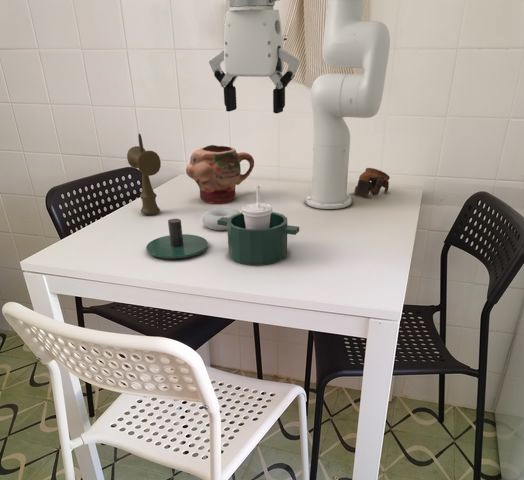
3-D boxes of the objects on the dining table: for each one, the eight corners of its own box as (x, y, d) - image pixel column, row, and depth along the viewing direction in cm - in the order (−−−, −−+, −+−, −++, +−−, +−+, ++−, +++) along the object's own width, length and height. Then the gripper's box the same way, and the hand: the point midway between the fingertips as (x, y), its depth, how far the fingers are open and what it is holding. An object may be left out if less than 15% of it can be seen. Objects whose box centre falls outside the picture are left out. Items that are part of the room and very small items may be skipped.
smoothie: (251, 259, 106) (249, 192, 98) (238, 249, 111) (235, 184, 103) (278, 253, 108) (278, 187, 101) (264, 244, 113) (263, 180, 105)
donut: (197, 231, 123) (237, 232, 121) (196, 217, 121) (236, 218, 119) (209, 218, 131) (247, 219, 129) (208, 205, 129) (246, 206, 127)
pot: (234, 239, 118) (232, 207, 114) (306, 249, 111) (307, 215, 107) (208, 258, 108) (205, 224, 104) (286, 271, 102) (286, 235, 98)
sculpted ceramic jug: (244, 188, 154) (242, 140, 147) (263, 198, 145) (262, 147, 138) (182, 198, 146) (177, 148, 139) (199, 209, 137) (194, 156, 130)
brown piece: (347, 193, 149) (358, 166, 148) (373, 206, 152) (385, 179, 150) (362, 193, 138) (375, 163, 136) (391, 206, 141) (404, 178, 139)
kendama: (146, 219, 131) (134, 137, 120) (133, 210, 138) (121, 132, 127) (168, 215, 133) (158, 134, 123) (154, 206, 140) (143, 129, 129)
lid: (168, 235, 120) (165, 208, 117) (218, 243, 116) (216, 214, 112) (134, 256, 110) (129, 226, 106) (188, 265, 105) (184, 234, 102)
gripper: (307, -1, 85) (304, 110, 94) (216, 3, 91) (222, 107, 100) (291, -3, 79) (290, 116, 88) (195, 1, 85) (204, 112, 95)
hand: (254, 111), depth 94 cm, fingers open, 9 cm apart
